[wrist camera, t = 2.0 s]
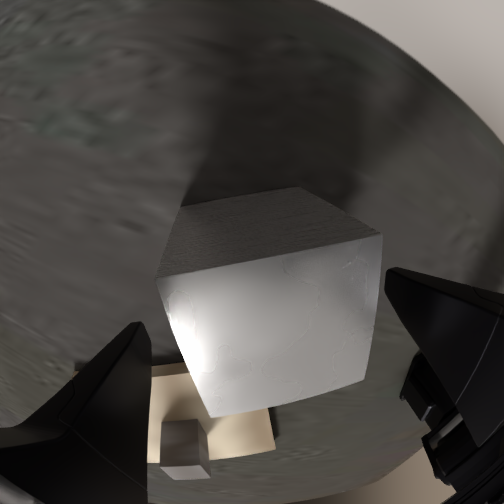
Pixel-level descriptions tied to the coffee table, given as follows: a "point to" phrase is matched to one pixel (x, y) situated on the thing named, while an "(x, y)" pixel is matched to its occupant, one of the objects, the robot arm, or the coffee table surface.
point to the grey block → (270, 297)
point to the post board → (191, 405)
